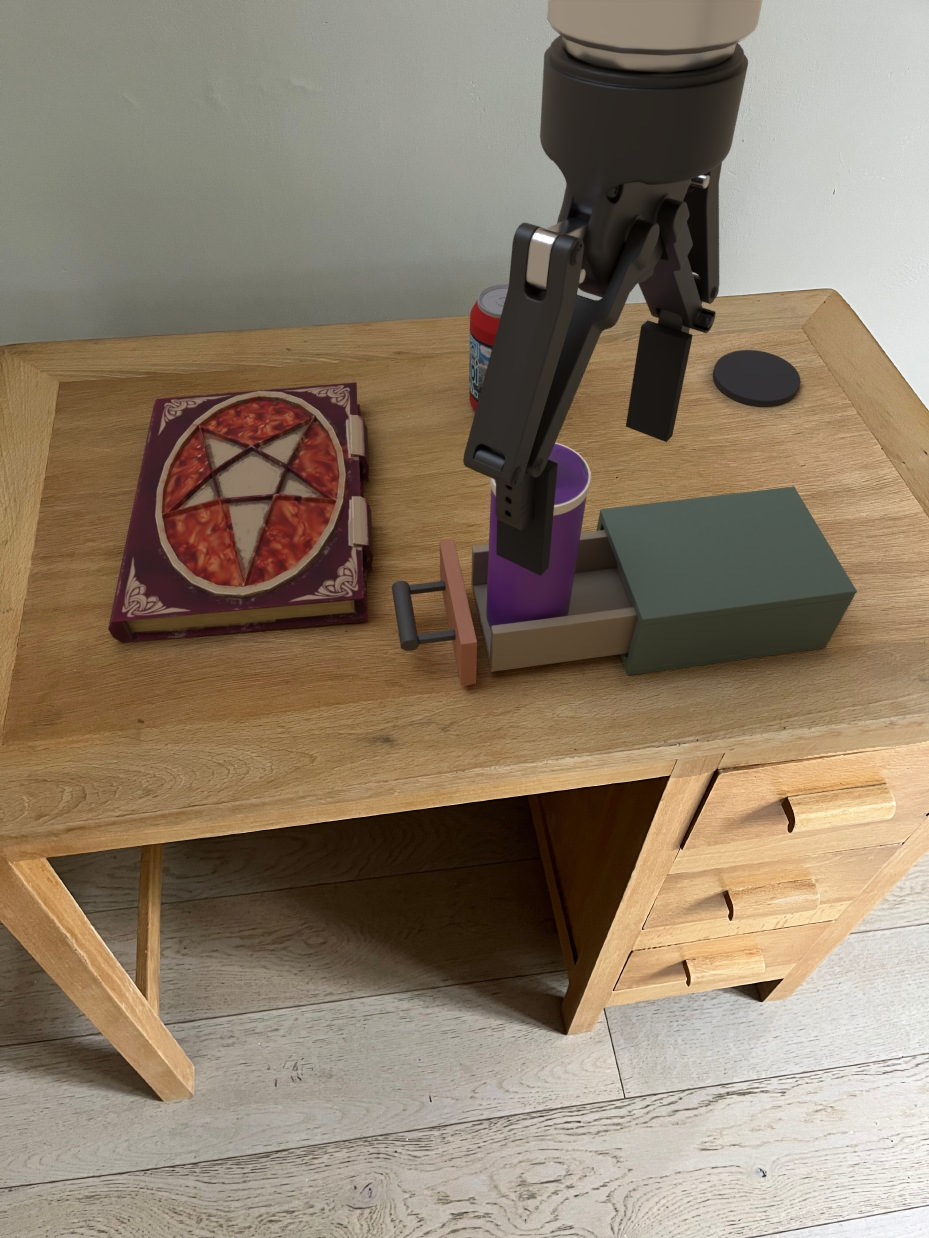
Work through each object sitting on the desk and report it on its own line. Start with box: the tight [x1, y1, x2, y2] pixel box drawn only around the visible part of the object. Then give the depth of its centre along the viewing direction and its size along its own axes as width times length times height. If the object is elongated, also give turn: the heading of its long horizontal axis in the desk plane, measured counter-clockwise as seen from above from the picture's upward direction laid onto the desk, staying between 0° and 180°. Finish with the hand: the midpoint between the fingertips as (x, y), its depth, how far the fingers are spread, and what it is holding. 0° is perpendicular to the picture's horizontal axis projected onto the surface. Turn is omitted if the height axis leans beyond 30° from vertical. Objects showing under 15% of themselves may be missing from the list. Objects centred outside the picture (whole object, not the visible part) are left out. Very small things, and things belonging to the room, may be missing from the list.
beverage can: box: [468, 283, 509, 411], centre depth 84 cm, size 7×7×12 cm
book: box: [107, 381, 374, 643], centre depth 77 cm, size 28×21×5 cm
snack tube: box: [486, 442, 592, 628], centre depth 63 cm, size 7×7×15 cm
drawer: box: [391, 530, 638, 686], centre depth 67 cm, size 20×10×5 cm, turn 100°
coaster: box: [712, 349, 801, 408], centre depth 91 cm, size 9×9×1 cm
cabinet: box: [595, 486, 858, 676], centre depth 69 cm, size 17×12×7 cm
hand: (590, 491), depth 47 cm, fingers open, 13 cm apart
